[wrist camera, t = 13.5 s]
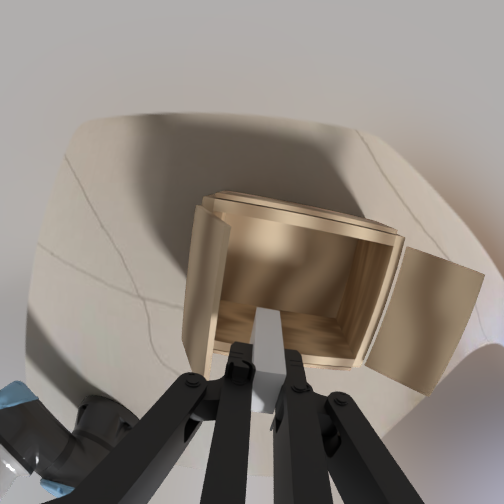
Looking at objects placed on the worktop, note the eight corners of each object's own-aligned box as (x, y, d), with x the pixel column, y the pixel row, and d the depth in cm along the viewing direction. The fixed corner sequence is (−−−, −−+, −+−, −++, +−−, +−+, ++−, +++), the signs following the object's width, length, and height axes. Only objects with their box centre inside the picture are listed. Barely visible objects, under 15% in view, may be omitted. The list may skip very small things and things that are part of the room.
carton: (205, 305, 36) (185, 346, 26) (222, 188, 32) (203, 190, 22) (338, 326, 36) (358, 371, 26) (368, 217, 32) (406, 232, 22)
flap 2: (429, 397, 20) (429, 395, 20) (484, 275, 17) (484, 274, 17) (364, 365, 25) (366, 363, 25) (406, 246, 22) (407, 246, 22)
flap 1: (185, 338, 25) (181, 338, 25) (200, 205, 22) (195, 204, 22) (207, 397, 18) (201, 397, 18) (231, 226, 15) (224, 225, 15)
